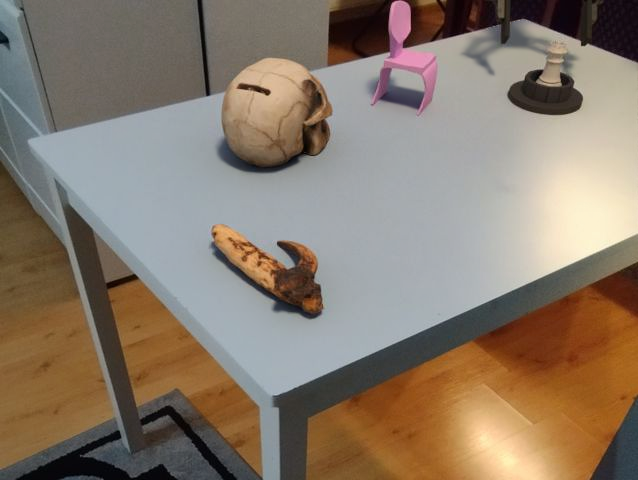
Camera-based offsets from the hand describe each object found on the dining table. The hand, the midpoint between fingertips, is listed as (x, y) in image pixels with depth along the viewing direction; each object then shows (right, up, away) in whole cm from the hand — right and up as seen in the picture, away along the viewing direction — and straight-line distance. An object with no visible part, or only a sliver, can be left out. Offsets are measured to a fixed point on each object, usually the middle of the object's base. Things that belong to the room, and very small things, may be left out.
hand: (545, 41), depth 114 cm
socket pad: (0, -10, 0) cm, 10 cm away
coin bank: (-43, -22, -14) cm, 51 cm away
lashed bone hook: (-43, -43, -37) cm, 71 cm away
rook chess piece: (0, -9, -1) cm, 9 cm away
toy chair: (-24, -11, -2) cm, 27 cm away
